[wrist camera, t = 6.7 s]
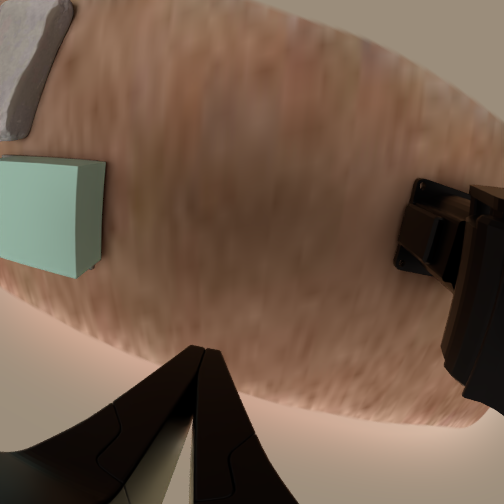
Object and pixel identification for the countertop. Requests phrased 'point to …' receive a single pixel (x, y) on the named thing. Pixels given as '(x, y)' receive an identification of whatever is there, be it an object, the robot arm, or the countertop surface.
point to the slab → (51, 213)
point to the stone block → (27, 58)
